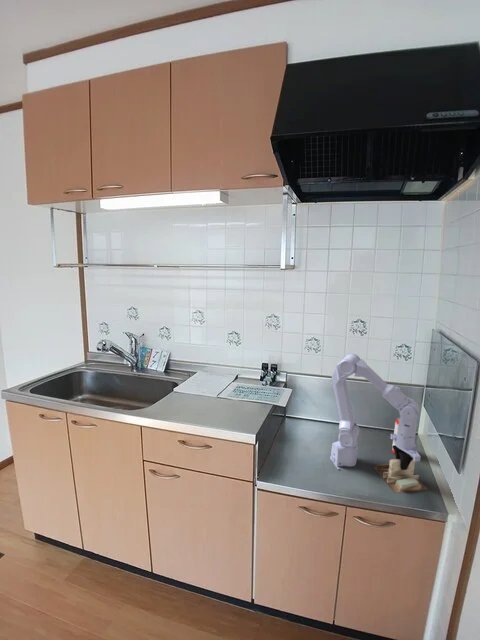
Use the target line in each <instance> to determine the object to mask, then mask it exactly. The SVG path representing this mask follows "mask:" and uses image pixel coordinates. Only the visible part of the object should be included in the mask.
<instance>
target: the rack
mask: <svg viewBox="0 0 480 640" xmlns="http://www.w3.org/2000/svg"><path fill="white" fill-rule="evenodd" d="M373 469H374V470H375V471H376V473H377V474H378V475H379V476H380V477H381V478H382V480H383V481H384V482H385V483H386V484H387V486H388V487H389V488H390V489H391V490H392V492H393V493H405V492H406V493H407V492H415V491H429V488H428V487H427V486H426V485H424V483H423V482H422V481H420V479H419V478H420V475H419V474H413V475H408V476H394V477H388V471H389V463H382V464H380V463H379V464H376V466H373ZM412 477H413V478H414V479H415V480H417V481H418V483H419V484H420V485H421V489H417V490H405V491H400V490H399V489H398V488H397V487H396V485H395V482H397V480H402V479H407V478H412Z"/></svg>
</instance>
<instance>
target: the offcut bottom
mask: <svg viewBox="0 0 480 640" xmlns="http://www.w3.org/2000/svg"><path fill="white" fill-rule="evenodd" d="M395 485H396V487H397V488H398V489H399V490H400V491H405V490H417V489H421V485H420V484H419V483H418V485H416V486H411V487H406V488H401V487H400V486H399V485H397V484H396V482H395Z"/></svg>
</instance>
